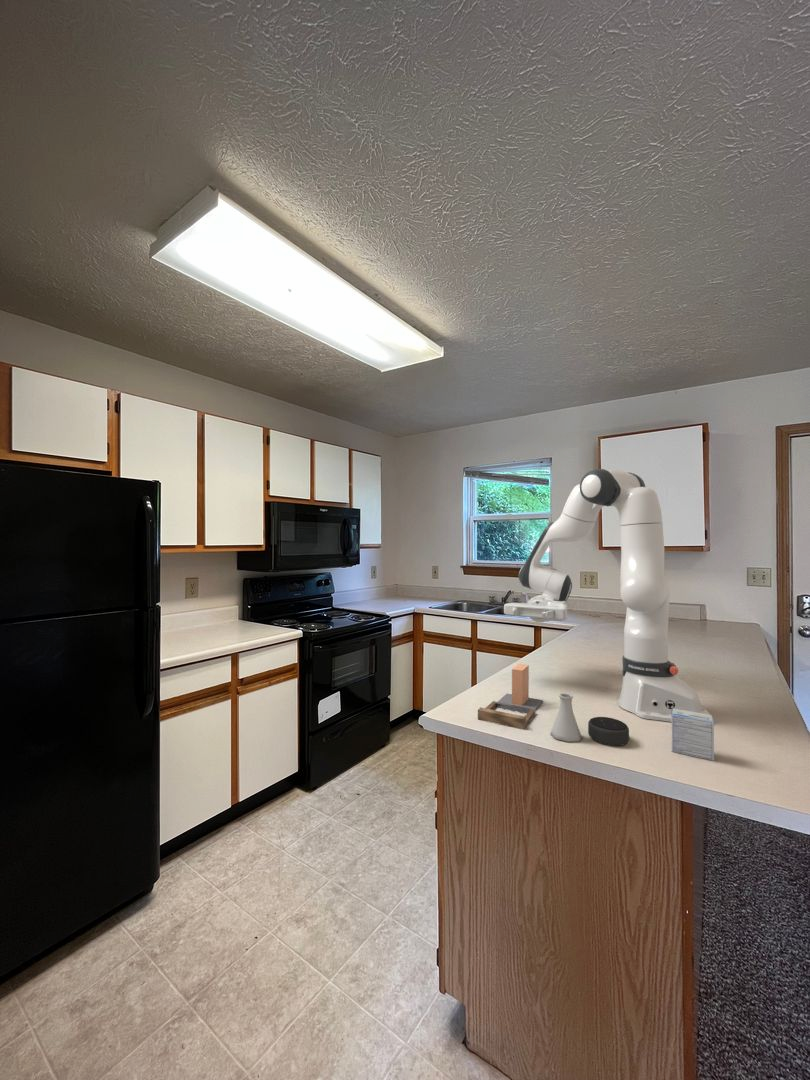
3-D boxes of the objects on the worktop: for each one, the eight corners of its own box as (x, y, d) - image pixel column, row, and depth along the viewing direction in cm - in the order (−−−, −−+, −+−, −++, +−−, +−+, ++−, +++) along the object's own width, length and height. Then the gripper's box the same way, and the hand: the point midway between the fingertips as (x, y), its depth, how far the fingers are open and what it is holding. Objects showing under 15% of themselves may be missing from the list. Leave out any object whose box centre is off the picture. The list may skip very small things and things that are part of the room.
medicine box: (713, 753, 97) (712, 714, 98) (714, 761, 94) (714, 721, 94) (671, 744, 102) (671, 707, 102) (671, 752, 98) (671, 713, 98)
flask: (584, 744, 102) (584, 701, 102) (552, 741, 103) (552, 698, 103) (578, 731, 109) (578, 691, 109) (548, 729, 110) (548, 689, 110)
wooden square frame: (535, 713, 120) (535, 704, 120) (523, 729, 110) (523, 719, 110) (493, 705, 126) (493, 696, 126) (477, 719, 116) (477, 709, 116)
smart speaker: (602, 728, 111) (602, 713, 111) (636, 742, 103) (636, 725, 103) (580, 736, 106) (580, 720, 106) (615, 751, 99) (615, 733, 99)
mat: (542, 701, 130) (542, 700, 130) (535, 711, 122) (535, 709, 122) (506, 695, 135) (506, 693, 135) (497, 703, 128) (497, 702, 128)
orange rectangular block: (528, 698, 131) (528, 665, 131) (522, 705, 125) (522, 670, 125) (518, 696, 132) (518, 663, 133) (511, 703, 126) (512, 669, 127)
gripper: (510, 597, 155) (497, 601, 143) (570, 601, 145) (562, 606, 133) (510, 615, 155) (497, 620, 143) (570, 620, 144) (562, 626, 133)
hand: (529, 613), depth 138 cm, fingers open, 8 cm apart
